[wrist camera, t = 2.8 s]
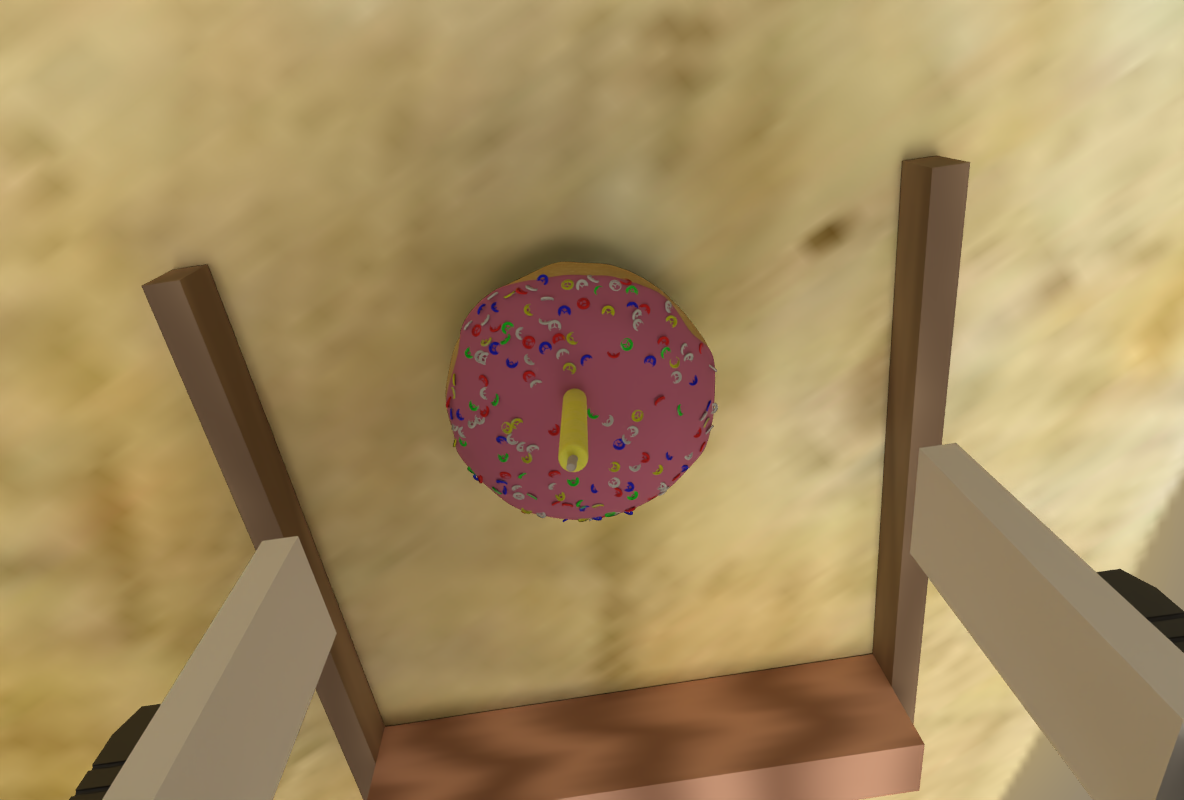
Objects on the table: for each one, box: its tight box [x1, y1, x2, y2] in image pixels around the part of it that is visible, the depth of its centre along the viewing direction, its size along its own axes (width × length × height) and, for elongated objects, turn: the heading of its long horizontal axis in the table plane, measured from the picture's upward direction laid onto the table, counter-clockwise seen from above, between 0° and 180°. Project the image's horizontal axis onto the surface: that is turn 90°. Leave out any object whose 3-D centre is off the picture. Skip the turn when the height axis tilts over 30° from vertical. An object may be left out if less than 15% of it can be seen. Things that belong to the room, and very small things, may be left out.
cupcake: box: [446, 262, 718, 522], centre depth 20 cm, size 9×8×12 cm
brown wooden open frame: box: [142, 156, 970, 800], centre depth 27 cm, size 26×26×5 cm
